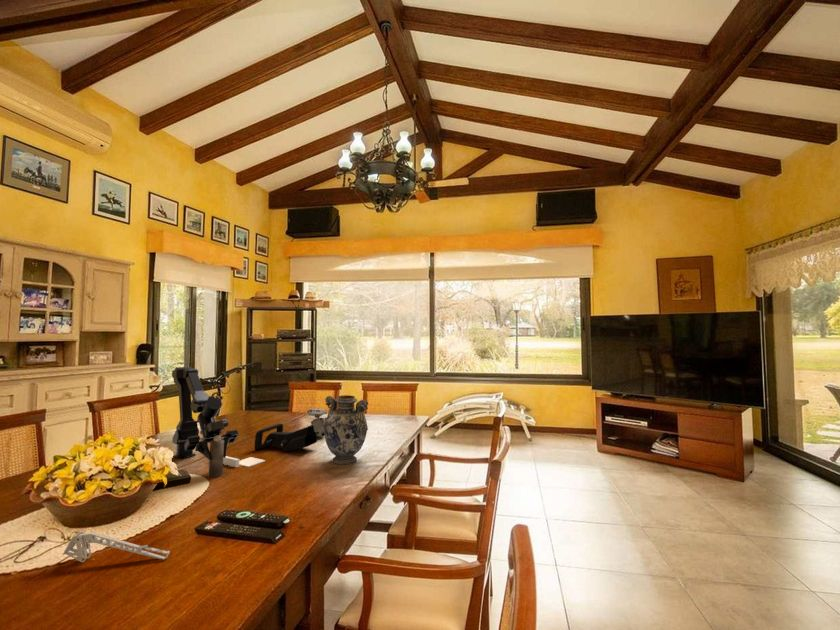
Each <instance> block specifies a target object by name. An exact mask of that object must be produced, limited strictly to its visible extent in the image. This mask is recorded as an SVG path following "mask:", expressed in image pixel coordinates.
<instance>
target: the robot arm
mask: <svg viewBox="0 0 840 630" xmlns="http://www.w3.org/2000/svg"><path fill="white" fill-rule="evenodd" d="M171 377H172V378H173V383H174V385H176V387H177V388H178V403H179V407H178V408H179V422H178V423H177V425H176V427H175V428H176V429H175V432H174V434H173V436H172V443H173V444H175V445H176V451H175V452H176V453H175V454H173V455H174V457H173V458H177V459H182V460H183V459H187V458H190V457H193V456H196V455H197V454H196V453H194V450H195V452H199V453H200V454H202V455H203V456H204V457H205V458H206V459H207V460H210V461H211V460H212V457H211V454H210V447H209V445H208V444H210V441H212V440H213V439H214V437H215V436H216V435H219V436H221V439H222V440H224V456H223V457H224V458H225V457H226V456H227V448H228V447H227V446H228V445H229V444H232V443H235V442H236V441H237V440H238V439H237V438H238V437H239V435H240V434H239V431H238V430H237V429H231V430H227V431H226V433H225V434H223V435H222V433H223V431H222V430H224V429H225V428H227V427H228V426H229V422H228V419H227V418H222V419H221V420H216V419H215V417H216V416H217V415H218V413H219V411H220V409H221V408H222V406H223V402H222V401H221V400H220V399H218V398H215V396H214V395H213V396H212V395H211V396H210V394H208V393H206V392H205V390H204V386H203V385H202V382H201V380H200V376H199V370H198V368H193V367H192V366H183V367H182V366H179V367H175V369H173V370H172V372H171ZM193 413H194V414H198V415H197V419H196V420H195V419H194V417H193ZM198 424H199V427H198ZM199 428H200V430H199ZM199 433H200V435H202V437H201V436H200V435H199ZM220 434H221V435H220Z"/></svg>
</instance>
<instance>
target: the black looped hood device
mask: <svg viewBox="0 0 840 630" xmlns="http://www.w3.org/2000/svg"><path fill="white" fill-rule="evenodd" d="M310 425H311V424H310ZM310 425H308V426H309V427H308V426H305V428H303V427H302V428H301V429H297V430H295V431H292V432H291V431H290V432H289V431H284V424H283V423H277V424H273V425H271V426H269V427H264V428H262V429H260V430H257V432H256V433H255V436H254V437H255V438H254V450H261V449H264V448H266V447H268V446H274V447H275V448H278V449H280V450H282V451H284V452H285V451H286V452H289V451H295V450H298V449H303V448H309V446H312V445H314V444H316V443H317V441H318V438H317V435H316V432H315V431H314V427H313V425H311V426H310ZM275 429H276V431H273V432H270V433H269V434H268V435H267V436H266V437H265V439H264V441H263V434H264V433H266V432H269V431H272V430H275Z"/></svg>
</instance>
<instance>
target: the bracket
mask: <svg viewBox="0 0 840 630" xmlns="http://www.w3.org/2000/svg"><path fill="white" fill-rule="evenodd" d="M104 540H105V541H104ZM90 544H98V545H101V546H106V547H110V548H115V549H116V550H117V549H118V550H121V551H127V552H129V553H134V554H138V555H142V556H147V557H150V558H153V559H158V560H166V559H167V558H168V557H169V555H170V554H171V553H170V552H171V551H170V550H164V549H160V548H155V547H149V546H148V544H145V545H140V544H135V543H133V542H128V541H126V540H121V539H118V538H115V537H110V536H107V535H104V534H100V533H96V532H83V530H81V531H79V532H78V533H76V534H75V535H73V536H72V537H71V539H70V541H69V542H68V544H67V545H66V547H65V549H64V551H63V553H62V556H64V555H67V556H69V557H71V558H73V559H75V561H78V562H80V563H85V561H86V560H89V559H90V557H91V555H92V551H91V550H92V549H91V546H90ZM75 547H76V548H75ZM154 552H156V553H159V554H156V553H154ZM160 554H163V555H160ZM87 555H88V556H87ZM164 555H165V556H164Z"/></svg>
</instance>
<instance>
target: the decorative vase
mask: <svg viewBox="0 0 840 630" xmlns="http://www.w3.org/2000/svg"><path fill="white" fill-rule="evenodd" d="M324 400H325V406H327V407H328V410H327V414H326V415H327V416H326V417H327V418H326V420H325V423H324V435H323V436H324V440H325V443H326V446H327V448H328V449H329V452H330V453H331V454H333V455H334V457H333V458H332V460H331V462H332V463H333V462H334V463H333V464H335V463H337V464H336V465H350V464H349V463H352V464H354V463H356V462H357V461H358V458H357V457H356V456H355V455H356V454H358V453H359V452H360V450H361V449H362V447H363V445H364V443H365V440H366V438H367V433H368V430H369V428H368V427H369V426H368V423H367V419H366V414H365V412H364V411H365V410H368V409H369V408H368V405H369V402H368V401H367V400H366V399H361V400H359V401H358V399H357V398H356V396H354V395H350V394H348V395H346V394H345V395H343V394H342V395H338V396H337V397H336V398H335V397H333V396H331V395H329V396H326V397H325V399H324ZM355 403H356V404H355ZM355 461H356V462H355ZM353 462H354V463H353Z"/></svg>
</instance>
